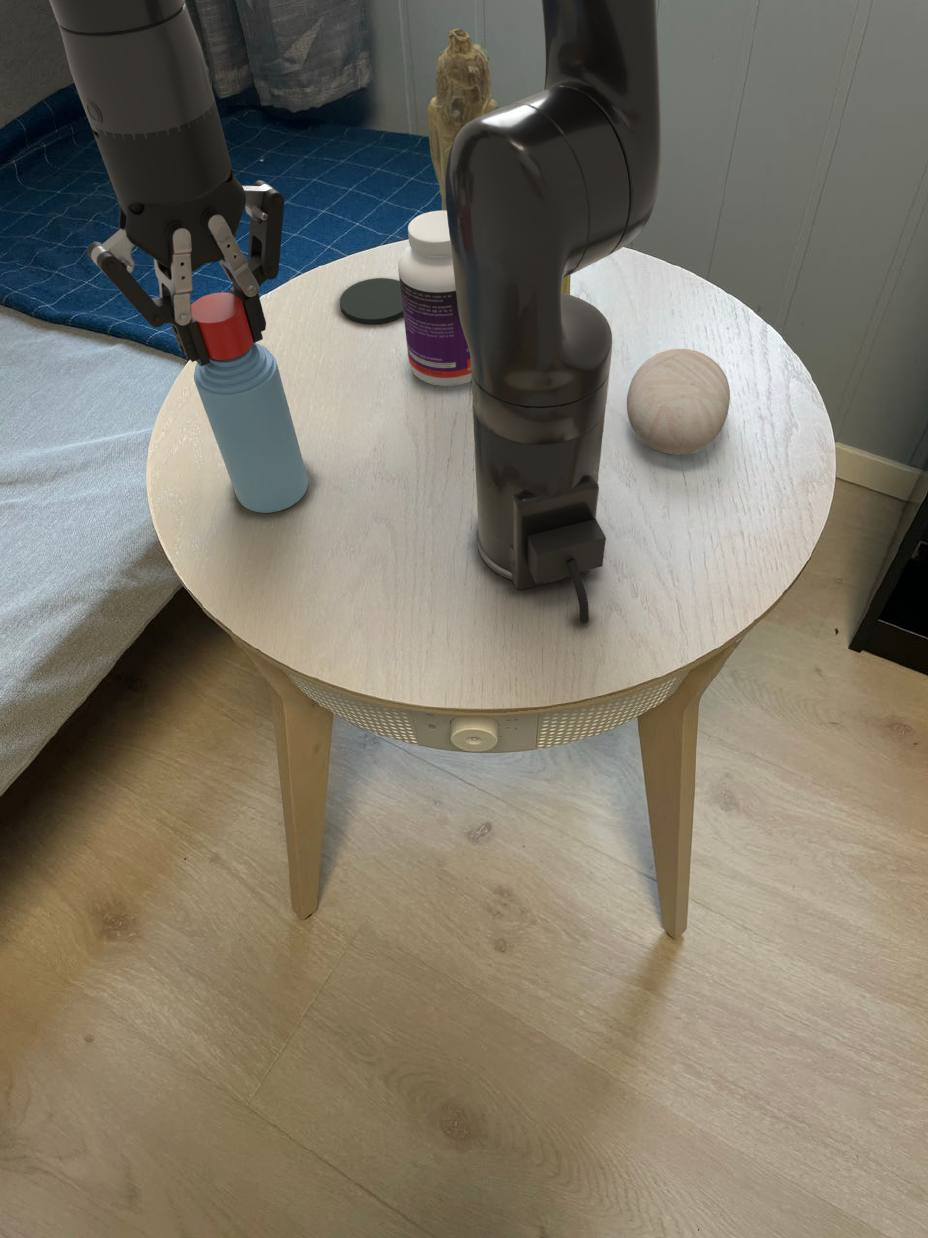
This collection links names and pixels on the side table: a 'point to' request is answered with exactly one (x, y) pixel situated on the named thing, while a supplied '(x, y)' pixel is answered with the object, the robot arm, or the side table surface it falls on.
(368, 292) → the coaster
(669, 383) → the decorative stone
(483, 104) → the statue
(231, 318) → the cap
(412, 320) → the pill bottle
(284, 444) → the bottle
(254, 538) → the side table surface
